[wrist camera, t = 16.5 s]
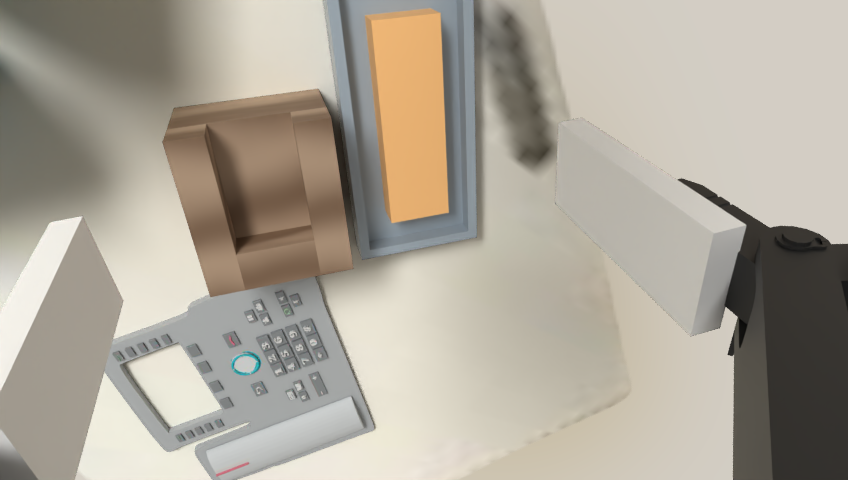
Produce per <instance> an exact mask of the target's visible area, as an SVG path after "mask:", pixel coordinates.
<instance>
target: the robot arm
mask: <svg viewBox="0 0 848 480" xmlns="http://www.w3.org/2000/svg"><path fill="white" fill-rule="evenodd" d="M555 204H556V205H557V206H558V207H559V208H560V209H561V210H562V211H563V212H564V213H565V214H566V215H567V216H568V217H569V218H570V219H571V220H572V221H573V222H574V223H575V224H576V225H577V226H578V227H579V228H580V229H581V230H582V231H583V232H584V233H585V234H587V235H588V236H589V237H590V238H591V239H592V240H593V241H594V242H595V243H596V244H597V245H598V246H599V247H600V248H601V249H602V250H603V251H604V252H605V253H606V254H607V255H608V256H609V257H610V258H611V259H612V260H613V261H614V262H615V263H616V264H617V265H618V266H619V267H620V268H621V269H622V270H623V271H624V272H626V274H628V276H629V277H631V279H633V281H635V282H636V283H637V284H638V285H639V286H640V287H641V288H642V289H643V290H644V291H645V292H646V293H647V294H648V295H649V296H650V297H651V298H652V299H653V300H654V301H655V302H656V303H657V304H658V305H659V306H660V307H661V308H662V309H663V310H664V311H665V312H666V313H667V314H668V315H669V316H670V317H671V318H672V319H673V320H675V322H677V324H678V325H680V326H681V328H683V329H684V330H685V331H686V332H687V333H688V334H689V335H690V336H694V335H697V334H701V333H704V332H708V331H711V330H715V329H718V328H720V326H721V322H722V318H723V314H724V310H725V307H727V308H728V309H729V310H730V311H732V312H733V313H734V314H735V315H736V316H737V317H738V319H737V322H736V326H735V330H734V333H733V337H732V341H731V344H730V348H729V351H728V355H730V356H733V355H734V427H733V429H734V430H733V431H734V432H733V437H734V438H733V480H848V244H830V242H829V241H828V240H827V239H826V238H824V237H823V236H821V235H820V234H817V233H815V232H813V231H810V230H807V229H803V228H798V227H794V226H778V227H772V228H769V227H768V226H766V225H764V224H763V223H761V222H760V221H758V220H757V219H755V218H753V217H752V216H750V215H748V214H747V213H745V212H744V211H742V210H741V209H739V208H738V207H736V206H734V205H730V203H729V202H728V201H726V200H725V199H723V198H722V197H718V196H717V194H715V193H714V192H712V191H710V190H709V189H707V188H706V187H704V186H703V185H700V184H697V183H694V182H691V181H688V180H685V179H678V180H677V179H675V178H674V177H672V176H671V175H669V174H668V173H666V172H665V171H663V170H662V169H660V168H658V167H657V166H655V165H654V164H652V163H651V162H649V161H648V160H646V159H644V158H643V157H642V156H640V155H639V154H637V153H635V152H634V151H632V150H631V149H629V148H628V147H626V146H625V145H623V144H622V143H620V142H619V141H617V140H616V139H614V138H613V137H611V136H610V135H608V134H606V133H605V132H603V131H602V130H600V129H599V128H597V127H596V126H594V125H592V124H591V123H590V122H588V121H586V120H585V119H584V118H577V119H572V120H567V121H562V122H559V124H558V147H557V170H556V193H555ZM122 304H123V299H122V297H121V295H120V293H119V291H118V289H117V287H116V285H115V282H114V280H113V278H112V276H111V274H110V272H109V270H108V268H107V266H106V264H105V262H104V259H103V257H102V255H101V253H100V251H99V249H98V247H97V245H96V243H95V241H94V239H93V236H92V234H91V232H90V230H89V228H88V226H87V224H86V222H85V220H84V218H83V216H80V217H75V218H70V219H65V220H60V221H54V222H50V223H49V225H48V227H47V229H46V230H45V232H44V234H43V236H42V238H41V239H40V241H39V243H38V245H37V247H36V248H35V250H34V252H33V254H32V255H31V257H30V259H29V261H28V263H27V264H26V266H25V268H24V270H23V272H22V273H21V275H20V277H19V279H18V281H17V282H16V284H15V286H14V288H13V290H12V291H11V293H10V295H9V297H8V298H7V300H6V302H5V304H4V306H3V307H2V309H1V311H0V480H75V476H76V473H77V469H78V466H79V462H80V458H81V455H82V451H83V447H84V444H85V440H86V436H87V433H88V429H89V425H90V422H91V418H92V414H93V411H94V407H95V403H96V400H97V396H98V392H99V389H100V385H101V381H102V378H103V374H104V370H105V367H106V363H107V359H108V356H109V352H110V348H111V345H112V341H113V337H114V334H115V330H116V326H117V322H118V319H119V315H120V311H121V308H122Z"/></svg>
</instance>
